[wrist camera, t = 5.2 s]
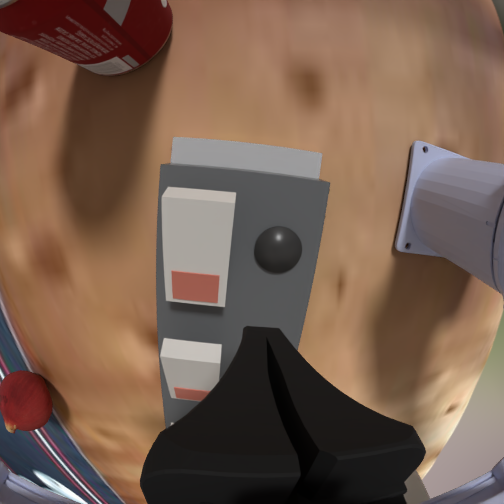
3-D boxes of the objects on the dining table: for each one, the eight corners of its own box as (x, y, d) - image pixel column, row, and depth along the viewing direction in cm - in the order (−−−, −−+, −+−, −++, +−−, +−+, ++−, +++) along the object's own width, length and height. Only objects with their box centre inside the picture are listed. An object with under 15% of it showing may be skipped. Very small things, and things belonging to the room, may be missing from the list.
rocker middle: (221, 344, 16) (220, 364, 15) (218, 388, 20) (217, 403, 19) (163, 337, 16) (159, 357, 15) (173, 382, 19) (171, 398, 18)
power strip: (319, 153, 18) (338, 153, 14) (262, 443, 26) (265, 472, 23) (175, 137, 17) (160, 133, 14) (174, 436, 25) (169, 464, 22)
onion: (24, 384, 23) (-8, 431, 16) (15, 347, 22) (-25, 394, 14) (66, 405, 24) (38, 458, 17) (61, 369, 23) (24, 426, 15)
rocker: (236, 192, 14) (234, 203, 13) (226, 292, 17) (224, 307, 16) (168, 186, 13) (161, 197, 12) (170, 286, 17) (165, 301, 16)
